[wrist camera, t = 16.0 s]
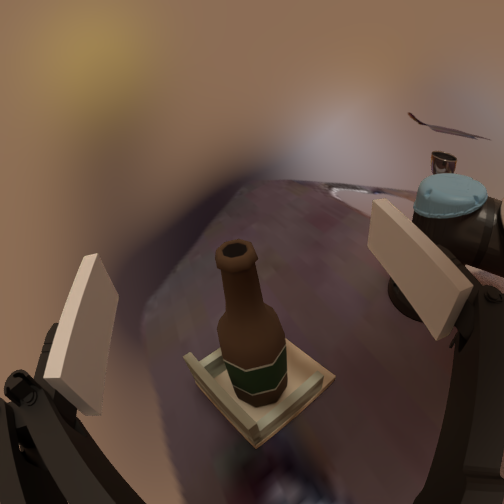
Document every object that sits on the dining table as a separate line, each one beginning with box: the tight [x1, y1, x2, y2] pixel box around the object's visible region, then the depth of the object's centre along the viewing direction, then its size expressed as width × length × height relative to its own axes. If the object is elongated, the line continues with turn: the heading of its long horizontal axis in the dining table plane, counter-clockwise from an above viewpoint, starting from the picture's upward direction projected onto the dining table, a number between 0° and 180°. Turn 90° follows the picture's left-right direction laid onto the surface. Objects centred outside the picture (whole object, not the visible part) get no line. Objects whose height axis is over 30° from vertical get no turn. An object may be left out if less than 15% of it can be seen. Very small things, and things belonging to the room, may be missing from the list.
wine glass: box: [431, 151, 457, 175], centre depth 72 cm, size 8×8×15 cm
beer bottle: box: [215, 239, 288, 407], centre depth 32 cm, size 8×8×24 cm
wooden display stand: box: [183, 338, 336, 449], centre depth 38 cm, size 15×14×8 cm
